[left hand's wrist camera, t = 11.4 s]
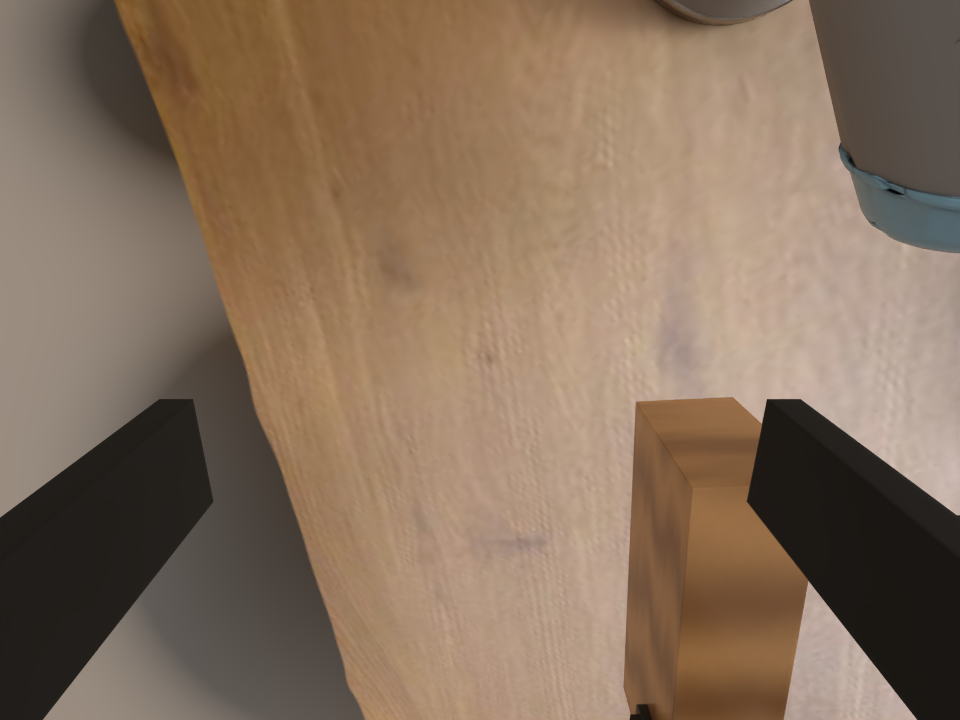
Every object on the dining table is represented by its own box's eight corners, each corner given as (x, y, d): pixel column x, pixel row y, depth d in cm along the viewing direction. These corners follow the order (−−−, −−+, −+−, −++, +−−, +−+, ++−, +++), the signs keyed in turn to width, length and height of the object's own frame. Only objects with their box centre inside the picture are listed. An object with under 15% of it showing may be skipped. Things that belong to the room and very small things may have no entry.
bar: (635, 401, 33) (691, 488, 24) (733, 396, 33) (826, 482, 24) (623, 687, 41) (662, 834, 32) (702, 684, 41) (764, 831, 32)
